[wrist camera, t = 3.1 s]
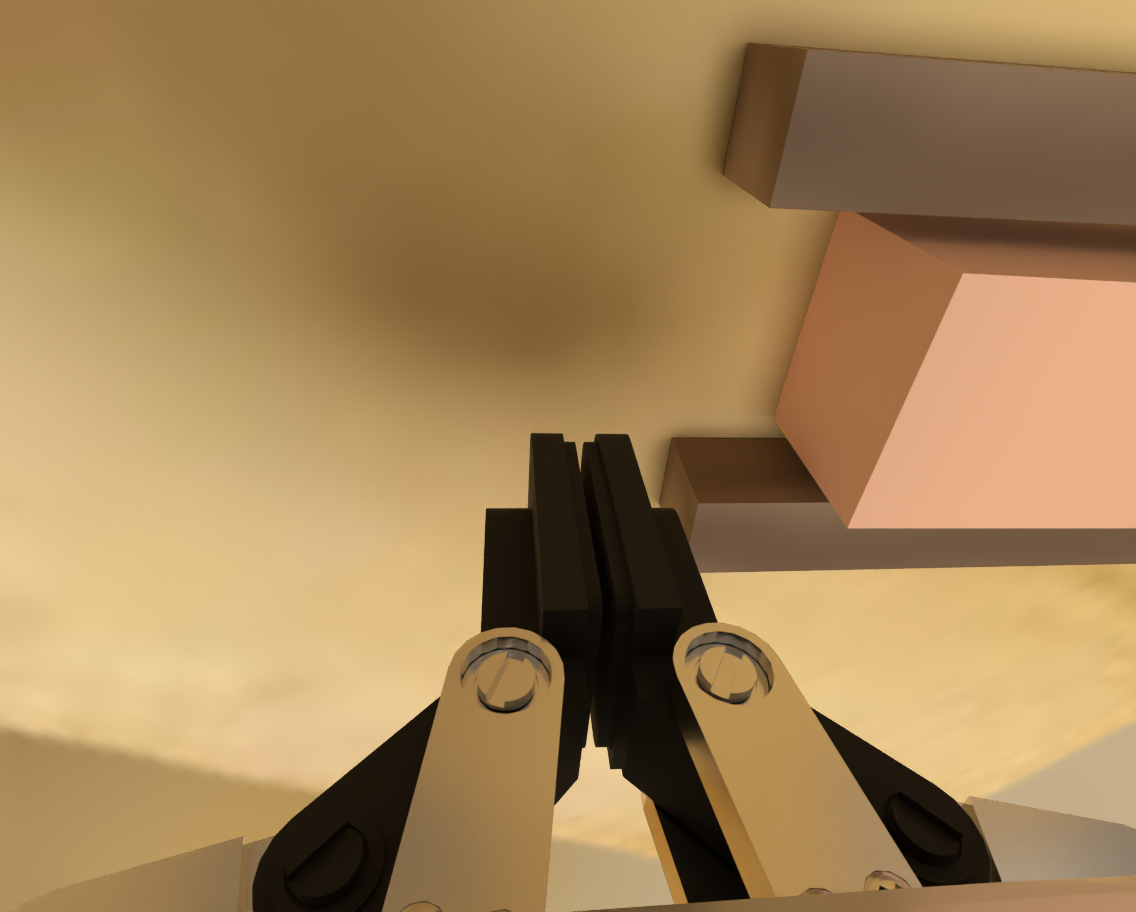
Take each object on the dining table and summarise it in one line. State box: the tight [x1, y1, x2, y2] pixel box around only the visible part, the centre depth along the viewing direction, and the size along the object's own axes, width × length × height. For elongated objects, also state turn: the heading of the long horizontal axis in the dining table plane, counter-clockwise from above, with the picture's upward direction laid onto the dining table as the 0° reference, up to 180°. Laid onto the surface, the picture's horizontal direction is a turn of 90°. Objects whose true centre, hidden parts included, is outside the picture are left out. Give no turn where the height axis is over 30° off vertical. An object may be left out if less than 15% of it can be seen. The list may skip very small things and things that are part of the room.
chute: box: [659, 43, 1136, 573], centre depth 16 cm, size 12×16×3 cm
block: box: [773, 211, 1136, 528], centre depth 15 cm, size 6×10×5 cm, turn 85°
